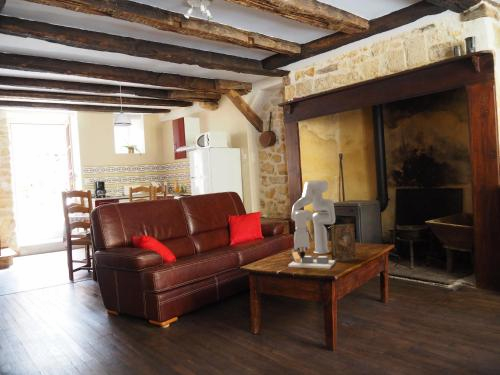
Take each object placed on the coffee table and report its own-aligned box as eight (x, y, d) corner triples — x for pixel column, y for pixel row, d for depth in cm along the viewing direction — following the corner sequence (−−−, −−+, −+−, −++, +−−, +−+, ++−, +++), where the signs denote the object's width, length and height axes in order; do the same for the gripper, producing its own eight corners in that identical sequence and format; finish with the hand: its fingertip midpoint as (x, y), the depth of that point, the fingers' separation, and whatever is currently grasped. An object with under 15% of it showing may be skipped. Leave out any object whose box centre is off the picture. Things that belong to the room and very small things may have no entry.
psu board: (296, 261, 296) (295, 253, 296) (335, 262, 285) (334, 254, 285) (288, 266, 279) (288, 258, 279) (329, 268, 268) (329, 259, 268)
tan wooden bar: (297, 255, 288) (296, 249, 288) (301, 263, 262) (301, 256, 262) (291, 255, 289) (291, 249, 288) (295, 264, 262) (295, 257, 262)
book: (353, 258, 295) (351, 223, 294) (357, 259, 289) (355, 224, 288) (331, 260, 291) (330, 225, 291) (335, 262, 286) (333, 226, 285)
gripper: (311, 228, 277) (312, 255, 278) (289, 230, 277) (290, 257, 277) (313, 230, 270) (314, 258, 270) (290, 231, 269) (292, 259, 270)
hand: (302, 257), depth 274 cm, fingers closed
